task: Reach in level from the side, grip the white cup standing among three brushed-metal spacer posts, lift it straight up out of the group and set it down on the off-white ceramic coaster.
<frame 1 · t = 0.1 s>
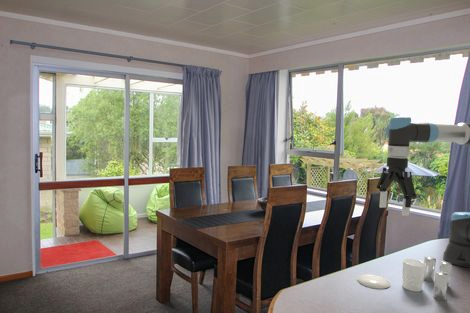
hand: (393, 211, 148), 28 cm above the table, tool pointing down, fingers open, 13 cm apart
white cup: (412, 288, 145), on the table
coaster: (373, 282, 149), on the table
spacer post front: (439, 298, 137), on the table
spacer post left: (428, 280, 153), on the table
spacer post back: (443, 285, 148), on the table
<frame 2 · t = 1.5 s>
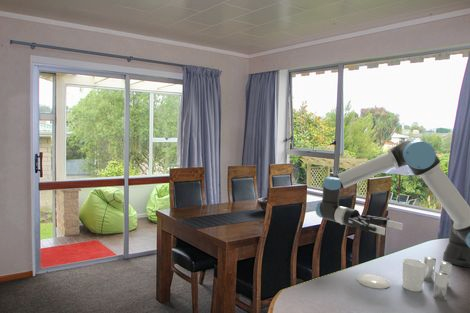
hand: (393, 229, 150), 20 cm above the table, tool horizontal, fingers open, 13 cm apart
nothing on the table moved.
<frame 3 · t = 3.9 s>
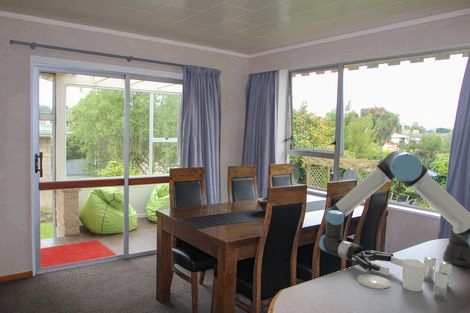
hand: (397, 267, 149), 6 cm above the table, tool horizontal, fingers open, 13 cm apart
nothing on the table moved.
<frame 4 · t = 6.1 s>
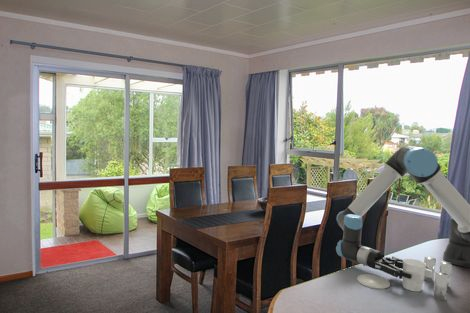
hand: (426, 276, 140), 6 cm above the table, tool horizontal, fingers closed on white cup, 8 cm apart
white cup: (412, 288, 145), on the table, touching gripper
everything else where it was.
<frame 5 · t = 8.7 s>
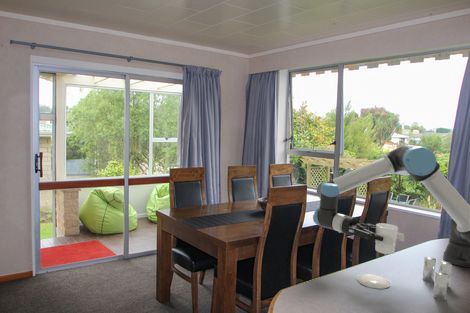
hand: (398, 239, 142), 19 cm above the table, tool horizontal, fingers closed on white cup, 8 cm apart
white cup: (384, 251, 146), point 13 cm above the table, touching gripper
everything else where it was.
when the fingers open (8 cm above the table, at t = 11.3 s): white cup drops 1 cm, resting on coaster.
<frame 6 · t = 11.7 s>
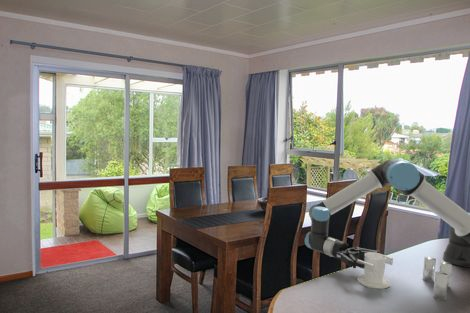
hand: (383, 265, 145), 8 cm above the table, tool horizontal, fingers open, 13 cm apart
white cup: (373, 280, 149), resting on coaster
everything else where it was.
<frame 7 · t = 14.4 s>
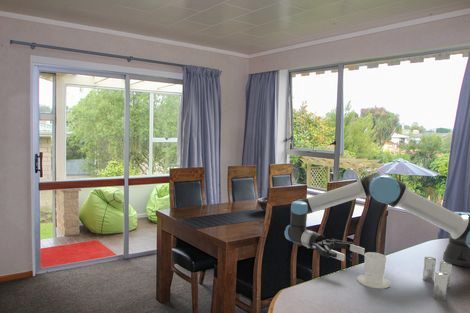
hand: (354, 254, 155), 8 cm above the table, tool horizontal, fingers open, 13 cm apart
nothing on the table moved.
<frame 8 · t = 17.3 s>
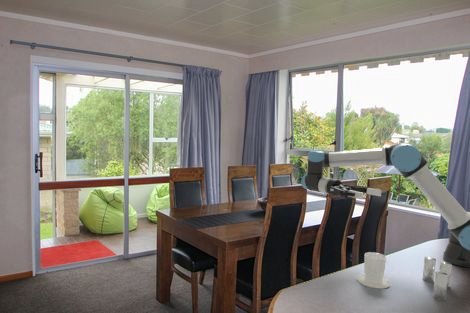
hand: (372, 194, 159), 32 cm above the table, tool horizontal, fingers open, 13 cm apart
nothing on the table moved.
at the end: white cup inside the target area on the coaster (0.1 cm from its centre), point 0.4 cm above the coaster's base; white cup tilted 0°; the gripper is holding nothing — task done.
